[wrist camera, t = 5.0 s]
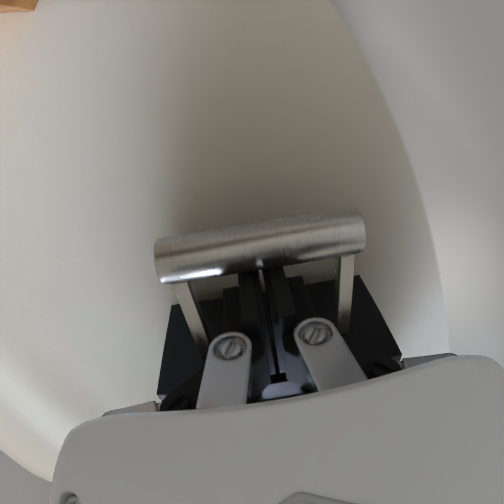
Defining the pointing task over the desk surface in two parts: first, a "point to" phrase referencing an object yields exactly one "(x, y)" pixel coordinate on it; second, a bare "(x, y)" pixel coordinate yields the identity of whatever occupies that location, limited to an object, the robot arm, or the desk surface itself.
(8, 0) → the tan wooden cube
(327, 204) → the desk surface
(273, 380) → the drawer with bar handle
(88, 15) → the desk surface
